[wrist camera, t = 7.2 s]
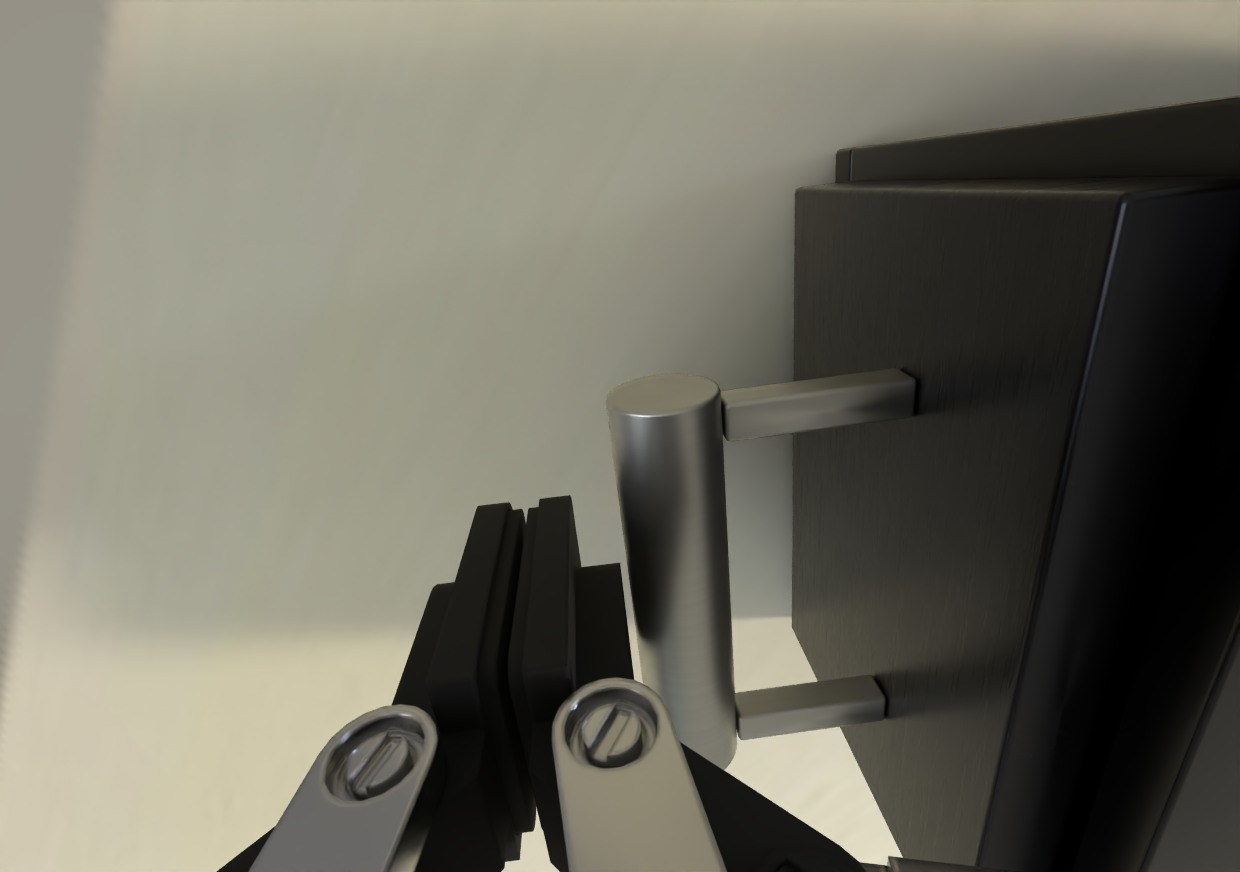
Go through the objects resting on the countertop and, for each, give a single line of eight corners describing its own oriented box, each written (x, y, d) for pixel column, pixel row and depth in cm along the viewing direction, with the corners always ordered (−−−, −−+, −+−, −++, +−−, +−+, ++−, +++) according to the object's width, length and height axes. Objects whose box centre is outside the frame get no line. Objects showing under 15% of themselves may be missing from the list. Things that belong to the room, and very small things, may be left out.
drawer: (638, 648, 16) (685, 1011, 9) (581, 214, 12) (586, 260, 5) (1260, 563, 17) (1780, 852, 9) (1443, 107, 12) (2725, -9, 5)
